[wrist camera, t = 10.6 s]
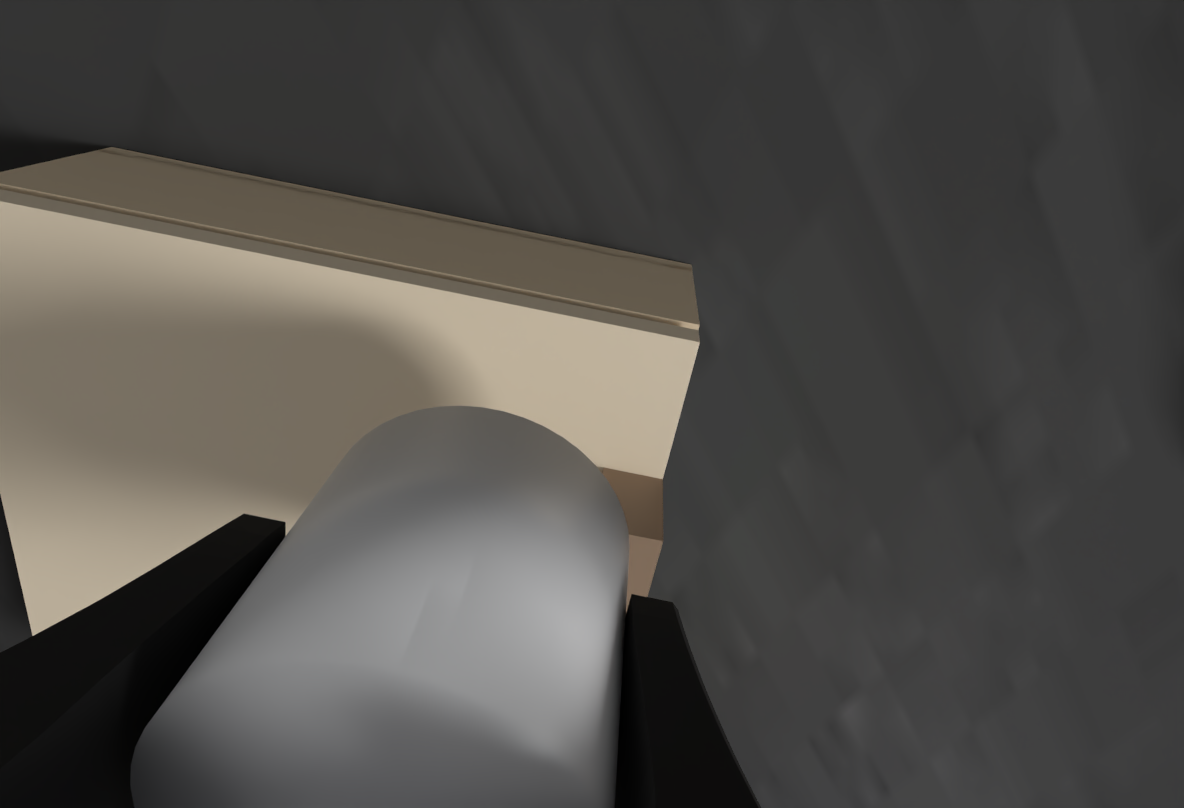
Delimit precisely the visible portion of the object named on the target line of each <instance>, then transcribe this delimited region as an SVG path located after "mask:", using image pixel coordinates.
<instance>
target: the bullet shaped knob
mask: <svg viewBox="0 0 1184 808" xmlns="http://www.w3.org/2000/svg"><path fill="white" fill-rule="evenodd" d="M629 550H630V544H629V533H628V527H627V523H626V519H625V515H624V512H623V509H622V507H621V505H620V502H619V500H618V497H617V495H616V494H615V492H614V490H613V489H612V487H611V485H610V484H609V482H608V480H607V479H606V478H605V476H604V475H603V474H602V473H601V471H600V470H599V469H598V468H597V466H596V465H595V464H594V463H593V462H592V461H591V460H590V459H589V458H588V457H587V456H586V455H585V454H584V453H583V452H581V451H580V450H579V449H578V448H577V447H575V446H574V445H573V444H571V443H570V442H569V441H567V440H566V439H565V438H563V437H562V436H560V435H558V434H556V433H555V432H553V431H551V430H550V429H548V428H546V427H544V426H542V425H540V424H538V423H535V422H533V421H531V420H528V419H526V418H524V417H520V416H517V415H514V414H511V413H507V412H504V411H500V410H494V409H489V408H484V407H473V406H440V407H433V408H427V409H421V410H416V411H413V412H410V413H407V414H404V415H400V416H398V417H395V418H393V419H391V420H389V421H387V422H385V423H383V424H381V425H379V426H378V427H376V428H375V429H373V430H372V431H370V432H369V433H367V434H366V435H364V436H363V437H362V438H361V439H360V440H359V441H358V442H357V443H356V444H355V445H354V446H352V448H351V449H350V450H349V451H348V453H347V454H346V455H345V456H344V458H343V459H342V460H341V462H340V463H339V464H338V466H337V467H336V468H335V470H334V471H333V473H332V474H331V475H330V477H329V478H328V479H327V481H326V482H325V483H324V485H323V486H322V487H321V489H320V490H319V492H318V493H317V494H316V496H315V497H314V498H313V500H312V501H311V502H310V504H309V505H308V507H307V508H306V509H305V511H304V512H303V513H302V515H301V516H300V517H299V519H298V520H297V522H296V523H295V524H294V526H293V527H292V528H291V530H290V531H289V532H288V534H287V535H286V536H285V538H284V539H283V541H282V542H281V543H280V545H279V546H278V547H277V549H276V550H275V551H274V553H273V554H272V556H271V557H270V558H269V560H268V561H267V562H266V564H265V565H264V566H263V568H262V569H261V571H260V572H259V573H258V575H257V576H256V577H255V579H254V580H253V581H252V583H251V584H250V585H249V587H248V588H247V590H246V591H245V592H244V594H243V595H242V596H241V598H240V599H239V600H238V602H237V603H236V605H235V606H234V607H233V609H232V610H231V611H230V613H229V614H228V615H227V617H226V618H225V620H224V621H223V622H222V624H221V625H220V626H219V628H218V629H217V630H216V632H215V633H214V634H213V636H212V637H211V639H210V640H209V641H208V643H207V644H206V645H205V647H204V648H203V649H202V651H201V652H200V654H199V655H198V656H197V658H196V659H195V660H194V662H193V663H192V664H191V666H190V667H189V669H188V670H187V671H186V673H185V674H184V675H183V677H182V678H181V679H180V681H179V682H178V683H177V685H176V686H175V688H174V689H173V690H172V692H171V693H170V694H169V696H168V697H167V698H166V700H165V701H164V703H163V704H162V705H161V707H160V708H159V709H158V711H157V712H156V713H155V715H154V716H153V718H152V719H151V720H150V722H149V723H148V724H147V726H146V727H145V728H144V730H143V732H142V734H141V736H140V739H139V741H138V743H137V745H136V747H135V750H134V755H133V759H132V763H131V777H130V787H131V792H132V798H133V803H134V807H135V808H615V791H616V774H617V757H618V740H619V722H620V705H621V688H622V671H623V653H624V636H625V619H626V602H627V584H628V567H629Z"/></svg>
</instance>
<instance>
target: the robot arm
mask: <svg viewBox="0 0 1184 808" xmlns="http://www.w3.org/2000/svg"><path fill="white" fill-rule="evenodd" d="M285 536H286V522H283V521H278V520H273V519H268V518H263V517H259V516H254V515H249V514H242V515H241V516H239V517H237V518H235V519H234V520H232V521H230V522H229V523H227V524H225V525H224V526H222V527H220V528H219V529H217V530H215V531H214V532H212V533H210V534H209V535H207V536H206V537H204V538H202V539H201V540H199V541H197V542H196V543H194V544H192V545H191V546H189V547H188V548H186V549H184V550H183V551H181V552H179V553H178V554H176V555H174V556H173V557H171V558H170V559H168V560H166V561H165V562H163V563H161V564H160V565H158V566H156V567H155V568H153V569H151V570H150V571H148V572H146V573H145V574H143V575H141V576H139V577H138V578H136V579H134V580H133V581H131V582H129V583H128V584H126V585H124V586H122V587H121V588H119V589H117V590H116V591H114V592H112V593H111V594H109V595H107V596H105V597H104V598H102V599H100V600H99V601H97V602H95V603H93V604H91V605H89V606H88V607H86V608H84V609H82V610H80V611H78V612H76V613H75V614H73V615H71V616H69V617H67V618H65V619H63V620H62V621H60V622H58V623H56V624H54V625H52V626H50V627H49V628H47V629H45V630H43V631H41V632H39V633H37V634H36V635H34V636H32V637H30V638H28V639H26V640H24V641H23V642H21V643H19V644H17V645H15V646H13V647H11V648H9V649H7V650H5V651H3V652H1V653H0V808H135V807H134V803H133V798H132V792H131V787H130V777H131V763H132V759H133V755H134V750H135V747H136V745H137V743H138V741H139V739H140V736H141V734H142V732H143V730H144V728H145V727H146V726H147V724H148V723H149V722H150V720H151V719H152V718H153V716H154V715H155V713H156V712H157V711H158V709H159V708H160V707H161V705H162V704H163V703H164V701H165V700H166V698H167V697H168V696H169V694H170V693H171V692H172V690H173V689H174V688H175V686H176V685H177V683H178V682H179V681H180V679H181V678H182V677H183V675H184V674H185V673H186V671H187V670H188V669H189V667H190V666H191V664H192V663H193V662H194V660H195V659H196V658H197V656H198V655H199V654H200V652H201V651H202V649H203V648H204V647H205V645H206V644H207V643H208V641H209V640H210V639H211V637H212V636H213V634H214V633H215V632H216V630H217V629H218V628H219V626H220V625H221V624H222V622H223V621H224V620H225V618H226V617H227V615H228V614H229V613H230V611H231V610H232V609H233V607H234V606H235V605H236V603H237V602H238V600H239V599H240V598H241V596H242V595H243V594H244V592H245V591H246V590H247V588H248V587H249V585H250V584H251V583H252V581H253V580H254V579H255V577H256V576H257V575H258V573H259V572H260V571H261V569H262V568H263V566H264V565H265V564H266V562H267V561H268V560H269V558H270V557H271V556H272V554H273V553H274V551H275V550H276V549H277V547H278V546H279V545H280V543H281V542H282V541H283V539H284V538H285ZM615 808H761V807H760V805H759V803H758V801H757V799H756V797H755V795H754V793H753V791H752V789H751V787H750V785H749V783H748V781H747V779H746V777H745V775H744V773H743V771H742V769H741V767H740V765H739V763H738V761H737V759H736V757H735V755H734V753H733V750H732V748H731V746H730V744H729V742H728V740H727V738H726V735H725V733H724V731H723V728H722V726H721V724H720V721H719V719H718V717H717V715H716V712H715V710H714V708H713V705H712V703H711V701H710V699H709V696H708V694H707V691H706V689H705V686H704V684H703V681H702V679H701V676H700V673H699V671H698V668H697V665H696V663H695V660H694V657H693V655H692V652H691V649H690V646H689V643H688V640H687V637H686V634H685V631H684V628H683V625H682V622H681V619H680V615H679V612H678V609H677V608H676V606H675V605H674V604H673V602H668V601H663V600H658V599H654V598H649V597H644V596H639V595H634V594H631V598H630V601H629V605H628V608H627V612H626V619H625V636H624V653H623V671H622V688H621V705H620V722H619V740H618V757H617V774H616V791H615Z"/></svg>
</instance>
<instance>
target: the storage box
mask: <svg viewBox="0 0 1184 808" xmlns="http://www.w3.org/2000/svg"><path fill="white" fill-rule="evenodd" d="M0 189H2V190H7V191H12V192H17V193H22V194H27V195H32V196H37V197H42V198H46V199H51V200H56V201H61V202H66V203H71V204H76V205H81V206H86V207H91V208H96V209H101V210H106V211H111V212H116V213H121V214H126V215H131V216H136V217H141V218H145V219H150V220H155V221H160V222H165V223H170V224H175V225H180V226H185V227H190V228H195V229H200V230H205V231H210V232H215V233H220V234H225V235H230V236H235V237H240V238H244V239H249V240H254V241H259V242H264V243H269V244H274V245H279V246H284V247H289V248H294V249H299V250H304V251H309V252H314V253H319V254H324V255H329V256H334V257H339V258H343V259H348V260H353V261H358V262H363V263H368V264H373V265H378V266H383V267H388V268H393V269H398V270H403V271H408V272H413V273H418V274H423V275H428V276H433V277H438V278H442V279H447V280H452V281H457V282H462V283H467V284H472V285H477V286H482V287H487V288H492V289H497V290H502V291H507V292H512V293H517V294H522V295H527V296H532V297H536V298H541V299H546V300H551V301H556V302H561V303H566V304H571V305H576V306H581V307H586V308H591V309H596V310H601V311H606V312H611V313H616V314H621V315H626V316H631V317H635V318H640V319H645V320H650V321H655V322H660V323H665V324H670V325H675V326H680V327H685V328H690V329H695V330H698V329H699V325H700V324H699V317H698V310H697V302H696V295H695V287H694V280H693V272H692V265H691V264H686V263H681V262H676V261H671V260H666V259H661V258H656V257H651V256H646V255H642V254H637V253H632V252H627V251H622V250H617V249H612V248H607V247H602V246H597V245H592V244H587V243H582V242H578V241H573V240H568V239H563V238H558V237H553V236H548V235H543V234H538V233H533V232H528V231H523V230H518V229H514V228H509V227H504V226H499V225H494V224H489V223H484V222H479V221H474V220H469V219H464V218H459V217H454V216H450V215H445V214H440V213H435V212H430V211H425V210H420V209H415V208H410V207H405V206H400V205H395V204H390V203H386V202H381V201H376V200H371V199H366V198H361V197H356V196H351V195H346V194H341V193H336V192H331V191H326V190H322V189H317V188H312V187H307V186H302V185H297V184H292V183H287V182H282V181H277V180H272V179H267V178H262V177H258V176H253V175H248V174H243V173H238V172H233V171H228V170H223V169H218V168H213V167H208V166H203V165H198V164H194V163H189V162H184V161H179V160H174V159H169V158H164V157H159V156H154V155H149V154H144V153H139V152H134V151H130V150H125V149H120V148H115V147H109V148H105V149H100V150H96V151H92V152H87V153H83V154H78V155H74V156H69V157H65V158H61V159H56V160H52V161H47V162H43V163H39V164H34V165H30V166H25V167H21V168H16V169H12V170H8V171H3V172H0Z"/></svg>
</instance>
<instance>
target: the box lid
mask: <svg viewBox="0 0 1184 808" xmlns="http://www.w3.org/2000/svg"><path fill="white" fill-rule="evenodd" d="M699 343H700V340H699V332H698V330H695V329H690V328H685V327H680V326H675V325H670V324H665V323H660V322H655V321H650V320H645V319H640V318H635V317H631V316H626V315H621V314H616V313H611V312H606V311H601V310H596V309H591V308H586V307H581V306H576V305H571V304H566V303H561V302H556V301H551V300H546V299H541V298H536V297H532V296H527V295H522V294H517V293H512V292H507V291H502V290H497V289H492V288H487V287H482V286H477V285H472V284H467V283H462V282H457V281H452V280H447V279H442V278H438V277H433V276H428V275H423V274H418V273H413V272H408V271H403V270H398V269H393V268H388V267H383V266H378V265H373V264H368V263H363V262H358V261H353V260H348V259H343V258H339V257H334V256H329V255H324V254H319V253H314V252H309V251H304V250H299V249H294V248H289V247H284V246H279V245H274V244H269V243H264V242H259V241H254V240H249V239H244V238H240V237H235V236H230V235H225V234H220V233H215V232H210V231H205V230H200V229H195V228H190V227H185V226H180V225H175V224H170V223H165V222H160V221H155V220H150V219H145V218H141V217H136V216H131V215H126V214H121V213H116V212H111V211H106V210H101V209H96V208H91V207H86V206H81V205H76V204H71V203H66V202H61V201H56V200H51V199H46V198H42V197H37V196H32V195H27V194H22V193H17V192H12V191H7V190H2V189H0V495H1V499H2V504H3V508H4V512H5V517H6V521H7V526H8V530H9V534H10V539H11V543H12V548H13V552H14V556H15V561H16V565H17V569H18V574H19V578H20V583H21V587H22V591H23V596H24V600H25V605H26V609H27V613H28V618H29V622H30V626H31V631H32V635H33V636H34V635H36V634H37V633H39V632H41V631H43V630H45V629H47V628H49V627H50V626H52V625H54V624H56V623H58V622H60V621H62V620H63V619H65V618H67V617H69V616H71V615H73V614H75V613H76V612H78V611H80V610H82V609H84V608H86V607H88V606H89V605H91V604H93V603H95V602H97V601H99V600H100V599H102V598H104V597H105V596H107V595H109V594H111V593H112V592H114V591H116V590H117V589H119V588H121V587H122V586H124V585H126V584H128V583H129V582H131V581H133V580H134V579H136V578H138V577H139V576H141V575H143V574H145V573H146V572H148V571H150V570H151V569H153V568H155V567H156V566H158V565H160V564H161V563H163V562H165V561H166V560H168V559H170V558H171V557H173V556H174V555H176V554H178V553H179V552H181V551H183V550H184V549H186V548H188V547H189V546H191V545H192V544H194V543H196V542H197V541H199V540H201V539H202V538H204V537H206V536H207V535H209V534H210V533H212V532H214V531H215V530H217V529H219V528H220V527H222V526H224V525H225V524H227V523H229V522H230V521H232V520H234V519H235V518H237V517H239V516H241V515H242V514H249V515H254V516H259V517H263V518H268V519H273V520H278V521H283V522H286V535H287V534H288V532H289V531H290V530H291V528H292V527H293V526H294V524H295V523H296V522H297V520H298V519H299V517H300V516H301V515H302V513H303V512H304V511H305V509H306V508H307V507H308V505H309V504H310V502H311V501H312V500H313V498H314V497H315V496H316V494H317V493H318V492H319V490H320V489H321V487H322V486H323V485H324V483H325V482H326V481H327V479H328V478H329V477H330V475H331V474H332V473H333V471H334V470H335V468H336V467H337V466H338V464H339V463H340V462H341V460H342V459H343V458H344V456H345V455H346V454H347V453H348V451H349V450H350V449H351V448H352V446H354V445H355V444H356V443H357V442H358V441H359V440H360V439H361V438H362V437H363V436H364V435H366V434H367V433H369V432H370V431H372V430H373V429H375V428H376V427H378V426H379V425H381V424H383V423H385V422H387V421H389V420H391V419H393V418H395V417H398V416H400V415H404V414H407V413H410V412H413V411H416V410H421V409H427V408H433V407H440V406H473V407H484V408H489V409H494V410H500V411H504V412H507V413H511V414H514V415H517V416H520V417H524V418H526V419H528V420H531V421H533V422H535V423H538V424H540V425H542V426H544V427H546V428H548V429H550V430H551V431H553V432H555V433H556V434H558V435H560V436H562V437H563V438H565V439H566V440H567V441H569V442H570V443H571V444H573V445H574V446H575V447H577V448H578V449H579V450H580V451H581V452H583V453H584V454H585V455H586V456H587V457H588V458H589V459H590V460H591V461H592V462H593V463H594V464H595V465H596V466H597V468H598V469H599V470H600V471H601V473H602V474H603V475H604V476H605V478H606V479H607V480H608V482H609V484H610V485H611V487H612V489H613V490H614V492H615V494H616V495H617V497H618V500H619V502H620V505H621V507H622V509H623V512H624V515H625V519H626V523H627V527H628V533H629V544H630V550H629V567H628V584H627V602H626V612H627V608H628V605H629V601H630V598H631V594H634V595H639V596H644V597H647V596H648V592H649V589H650V585H651V582H652V578H653V575H654V571H655V568H656V564H657V561H658V557H659V554H660V550H661V547H662V543H663V476H664V472H665V469H666V465H667V461H668V458H669V454H670V450H671V447H672V443H673V439H674V435H675V432H676V428H677V424H678V421H679V417H680V413H681V410H682V406H683V402H684V399H685V395H686V391H687V388H688V384H689V380H690V377H691V373H692V369H693V366H694V362H695V358H696V355H697V351H698V347H699Z"/></svg>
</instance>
